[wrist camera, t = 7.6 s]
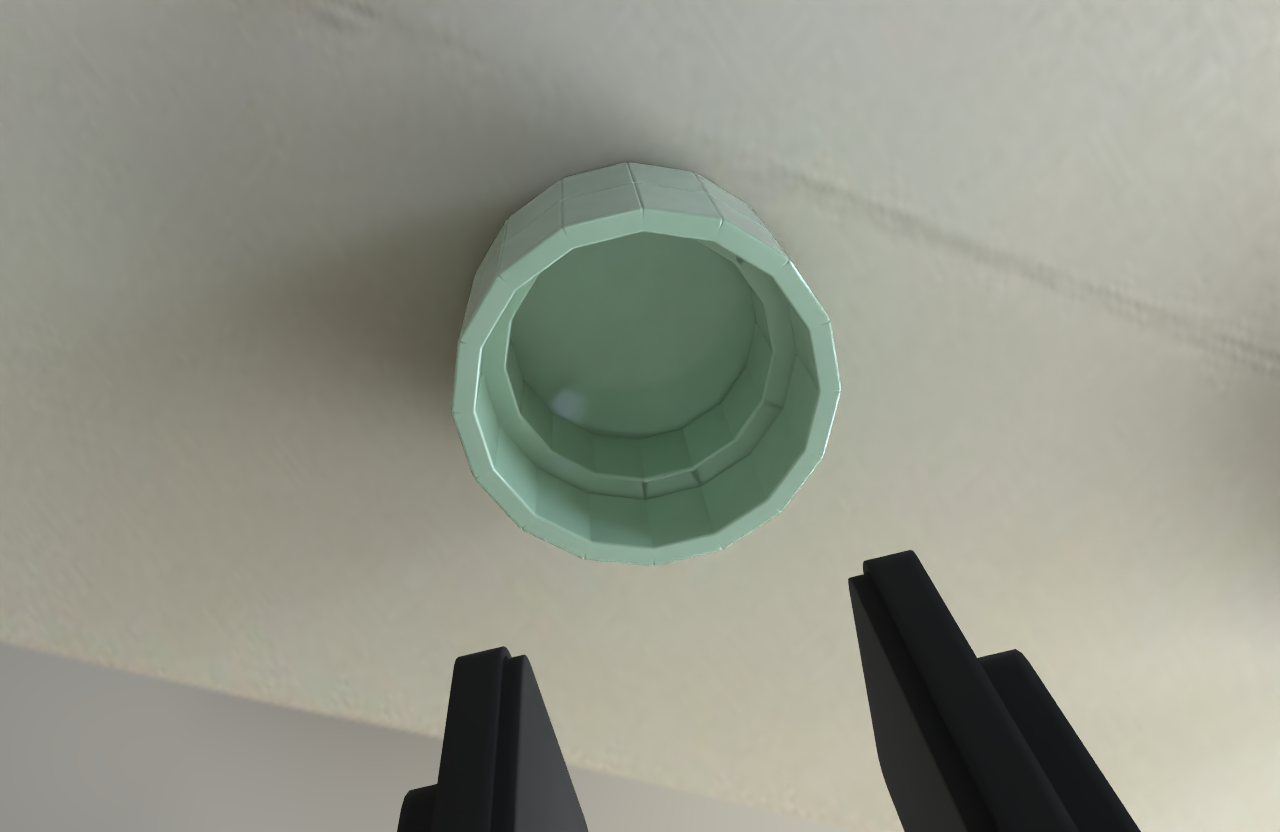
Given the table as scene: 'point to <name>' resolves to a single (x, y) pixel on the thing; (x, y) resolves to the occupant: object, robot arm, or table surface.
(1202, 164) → the table surface
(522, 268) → the bowl
